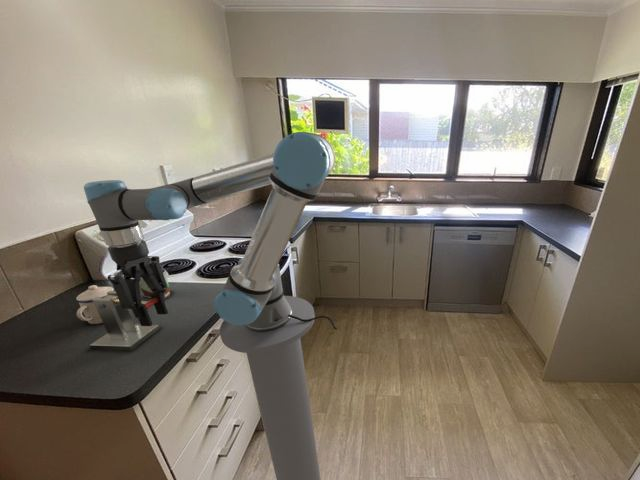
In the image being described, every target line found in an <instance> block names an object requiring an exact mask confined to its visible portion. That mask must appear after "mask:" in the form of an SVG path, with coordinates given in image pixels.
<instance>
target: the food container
mask: <svg viewBox="0 0 640 480" xmlns="http://www.w3.org/2000/svg"><path fill="white" fill-rule="evenodd" d="M161 269H162V272H163V275H164V278H165V280H166V283H167V287H166V288H164V289H166V292H165V293H163V295H164V298H165V300H166V299H169V297H170V296H171V290H170V285H169V280H168V277H169V273H168V271H167V270H166V269H165V268H163V267H161ZM140 279H141V280H140V282H139V286H140V292H141V294H142V295H143V298H151V294H154V293H153V292H152V291H151V290H150V288H149V287H148V285H147V284H146V283H145V281H144V280H143V278H142V277H141V276H140ZM160 284H161V283H160ZM151 299H152V298H151Z"/></svg>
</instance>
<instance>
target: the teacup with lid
mask: <svg viewBox="0 0 640 480" xmlns="http://www.w3.org/2000/svg"><path fill="white" fill-rule="evenodd" d="M109 291H115V289H114V287H112V286H98V285H95V284H92V285H89V286H88V289H87V290H85V291H83V292H81V293H79V294H78V295H77V296H76V300H75V301H76V303H78V304H79V308H78V309H77V310H76V317H77V318H78V319H79V320H80V321H82V322H87V323H88V324H90V325H98V324H103V322H102V320H101V317H100V315H99V313H98V311H97V309H96V306H95V304H94V302H93V300H94V299H95V298H104V297H106V296H108V295H107V292H109Z"/></svg>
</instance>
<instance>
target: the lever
mask: <svg viewBox="0 0 640 480" xmlns="http://www.w3.org/2000/svg"><path fill="white" fill-rule="evenodd" d="M104 298H111V299H112V302H113V304H114V306H116V305H118V304H120V301H119V299H118V296H114V295H108V296H106V297H104ZM158 301H159V299H158V298H156V297H155V298H153V299H152V298H151V299H150V300H149V301H146V300H141V303H142V305H145V306H146V308H147V310H148V309H149V308H151V307H152V306H154V304H155V303H157V302H158Z"/></svg>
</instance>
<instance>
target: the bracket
mask: <svg viewBox="0 0 640 480" xmlns="http://www.w3.org/2000/svg"><path fill="white" fill-rule="evenodd" d="M107 295H114V296H117V294H116V291H109V292H107ZM93 302H94V304H95V306H96V309H97V311H98V313H99V315H100V317H101V320H102V322H103V323H102V324H103V326H104V328H105V330H106V333H105V334H104V335H103V336H101V337H100V338H98V339H96V340H95V341H94V342H92V343H91V344H89V347H90V349H91V350H98V351H99V350H103V351H133V350H135V349H136V348H138V346H140V345H142V344H143V343H144V342H145V341H146V340H148V339H149V338H150V337H151V336H153V334H155V333H156V332H157V331H158V330H160V326H159V324H153V325H152V326H141V324H140V323H138V322H137V318H136V317H135V315H134V313H133V310H132V309H123V308H122V306H121V304H118V305H116V306H114V304H113V302H112V299H111V298H95V299H94V300H93Z"/></svg>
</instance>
